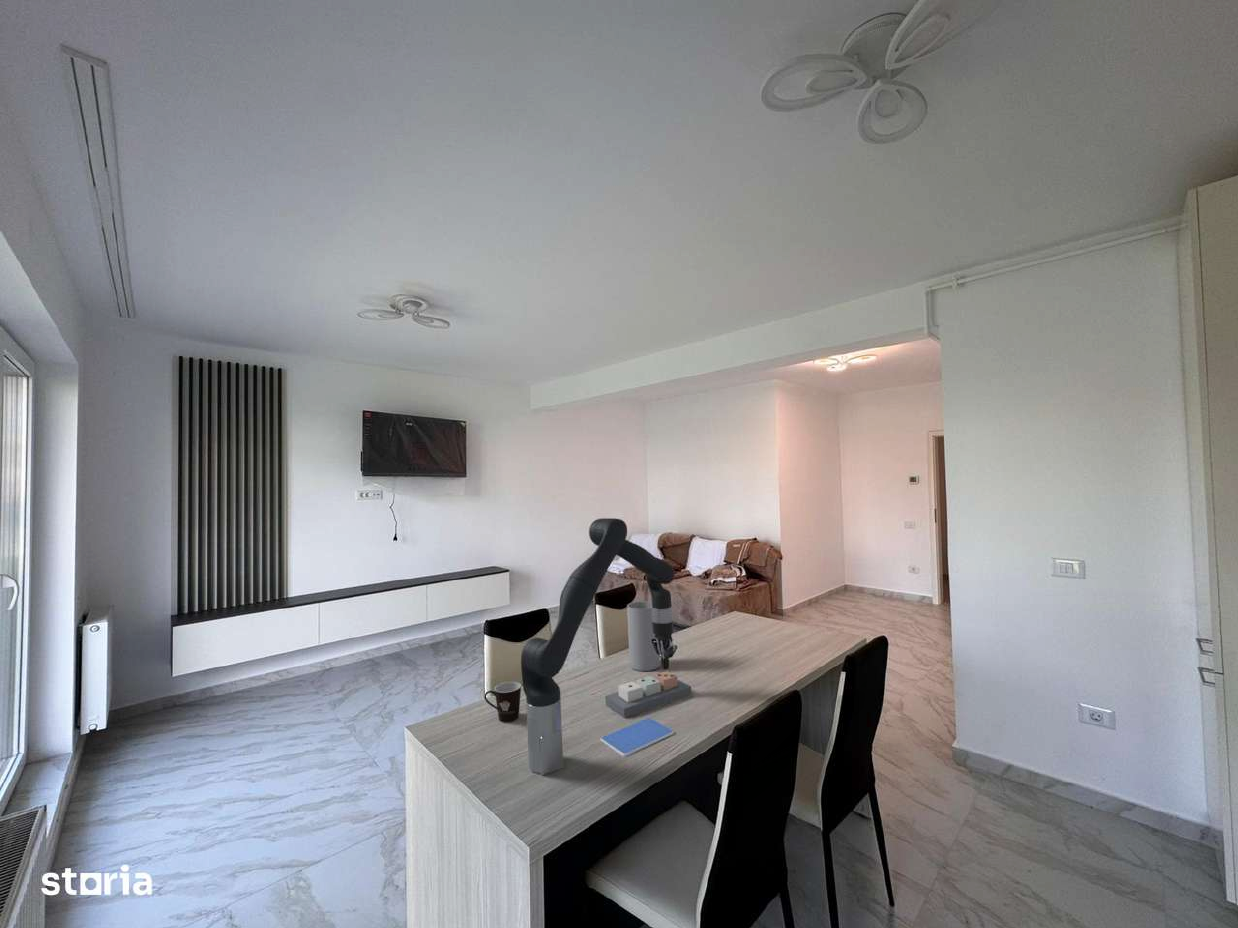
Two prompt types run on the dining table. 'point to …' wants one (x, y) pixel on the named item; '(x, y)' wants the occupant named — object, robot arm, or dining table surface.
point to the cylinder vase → (641, 637)
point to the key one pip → (630, 691)
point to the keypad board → (647, 700)
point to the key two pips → (649, 685)
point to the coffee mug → (507, 701)
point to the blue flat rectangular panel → (636, 736)
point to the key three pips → (667, 680)
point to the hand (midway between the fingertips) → (665, 668)
